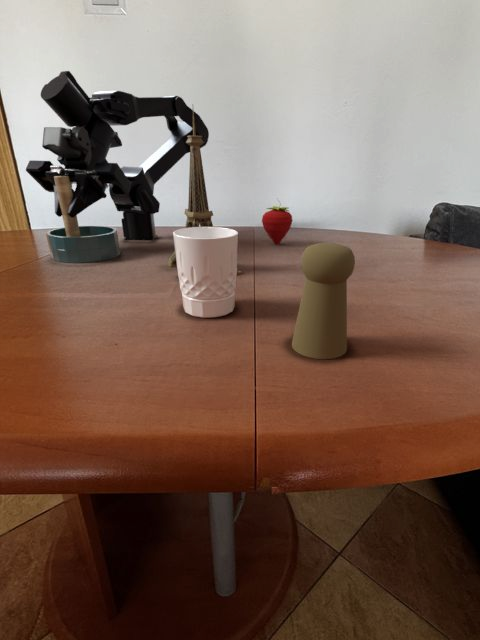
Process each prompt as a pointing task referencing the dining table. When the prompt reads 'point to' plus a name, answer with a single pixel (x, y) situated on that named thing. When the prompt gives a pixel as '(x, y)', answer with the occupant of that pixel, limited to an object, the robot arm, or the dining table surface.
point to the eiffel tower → (196, 192)
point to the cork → (324, 301)
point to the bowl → (84, 244)
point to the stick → (66, 205)
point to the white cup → (207, 269)
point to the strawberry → (277, 223)
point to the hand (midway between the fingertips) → (63, 215)
